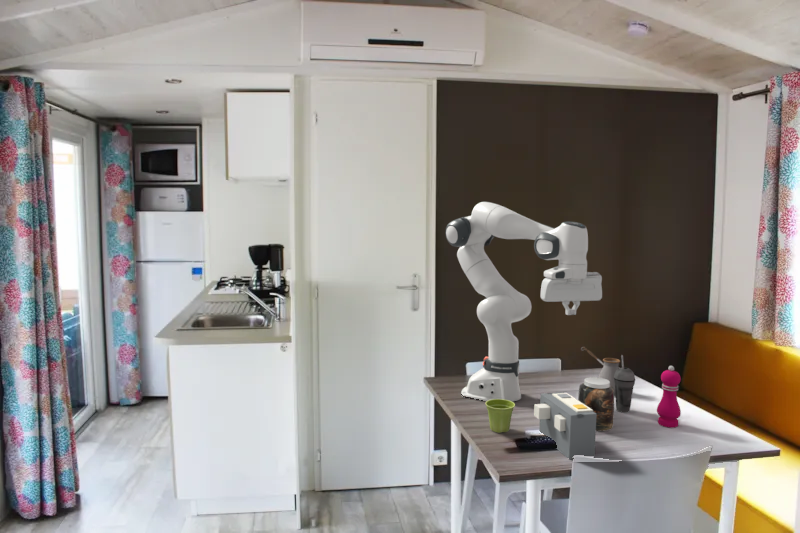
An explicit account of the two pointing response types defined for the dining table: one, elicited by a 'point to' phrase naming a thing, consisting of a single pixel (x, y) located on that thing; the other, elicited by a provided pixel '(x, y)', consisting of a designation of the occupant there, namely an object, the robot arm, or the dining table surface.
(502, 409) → the plant pot
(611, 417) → the jar
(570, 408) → the console
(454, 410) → the dining table surface
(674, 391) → the pepper mill
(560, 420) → the button
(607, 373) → the coffee pot
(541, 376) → the dining table surface
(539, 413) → the button
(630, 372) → the beverage cup
